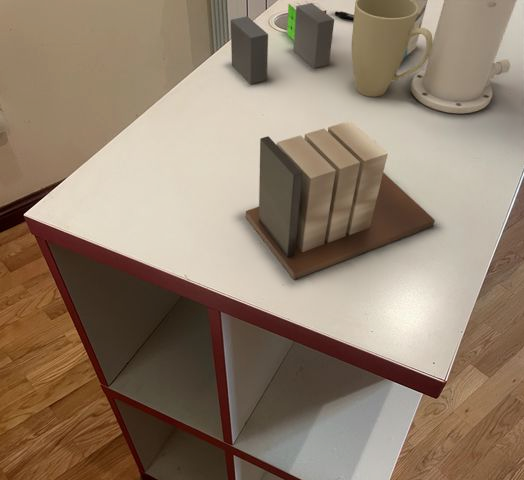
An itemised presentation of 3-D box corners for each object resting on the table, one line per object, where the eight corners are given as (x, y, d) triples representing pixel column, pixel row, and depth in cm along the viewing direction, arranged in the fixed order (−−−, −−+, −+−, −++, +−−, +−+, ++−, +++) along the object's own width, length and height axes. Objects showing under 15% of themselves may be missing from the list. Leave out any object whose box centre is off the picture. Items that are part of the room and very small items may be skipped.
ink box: (395, 67, 87) (419, -37, 75) (370, 58, 89) (388, -45, 77) (416, 48, 91) (441, -53, 79) (391, 40, 93) (412, -60, 81)
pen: (332, 18, 99) (333, 11, 98) (336, 15, 99) (336, 8, 98) (400, 37, 95) (401, 30, 94) (403, 33, 95) (405, 26, 94)
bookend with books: (376, 173, 70) (397, 85, 60) (432, 226, 64) (465, 137, 54) (245, 217, 64) (244, 127, 54) (293, 280, 58) (302, 191, 48)
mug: (348, 107, 79) (362, 22, 70) (338, 75, 85) (350, -8, 75) (418, 106, 80) (441, 21, 70) (403, 74, 86) (423, -8, 76)
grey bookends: (307, 47, 91) (311, 2, 85) (329, 64, 87) (334, 19, 82) (231, 65, 86) (230, 19, 81) (250, 84, 83) (250, 37, 77)
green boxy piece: (298, 45, 91) (300, 14, 87) (286, 34, 94) (288, 3, 90) (323, 41, 92) (326, 10, 88) (311, 29, 95) (313, -1, 91)
